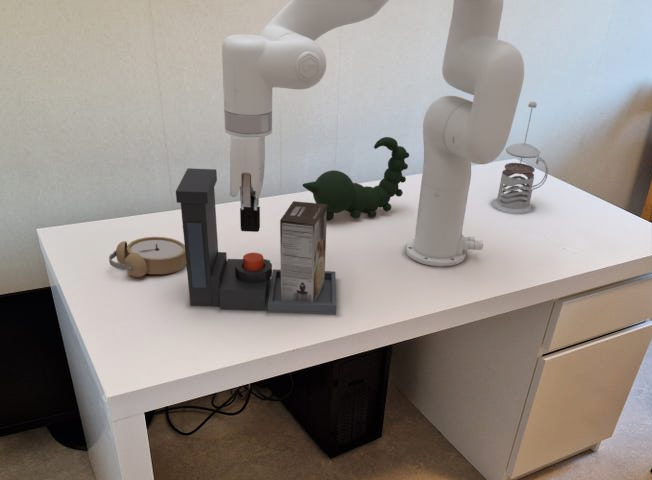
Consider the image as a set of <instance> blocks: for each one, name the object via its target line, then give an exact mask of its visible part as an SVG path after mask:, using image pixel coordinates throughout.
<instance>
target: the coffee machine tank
mask: <svg viewBox="0 0 652 480" xmlns="http://www.w3.org/2000/svg"><path fill="white" fill-rule="evenodd" d="M217 181H218V173H217V169H214V168H213V169H212V168H187V169H186V170H185V172H184V175H183V176H182V178H181V180H180V182H179V184H178V186H177V187H176V190H175V196H176V197H175V199H176V203H178V204H180V210H181V222H182V234H183V244H184V245H185V254H186V265H185V266H186V274H187V285H188V295H189V306H190V307H210V308H211V307H213V308H215V307H216V308H220V294H219V288H220V285H221V281H222V277H223V274H224V270H225V267H226V263H227V260H228V256H227V255H228V254H227V252H226V251H219V242H218V226H217V211H216V209H217V208H216V195H215V186H216V184H217Z"/></svg>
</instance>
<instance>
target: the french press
mask: <svg viewBox="0 0 652 480" xmlns="http://www.w3.org/2000/svg"><path fill="white" fill-rule="evenodd" d="M527 107H528V108H531V110H530V113H529V118H528V123H527V128H526V133H525V138H524V142H520V143H519V142H518V143H514V144H513V143H512V144H510V145H508V146H507V147H506V148H505V153H507V155H510V156H512V157H516V158H520V162H509V163H506V164H505V165H504V169H503V170H502V172H501V177H500V182H499V188H498V193H497V198H496V199H495V200H493V201H492V203H491V205H492V206H493V208H495V209H496V210H498V211H501V212H504V213H508V214H519V215H521V214H527V213H529V212H531V211H532V209H533V207H532V205H530V204H531V203H530V202H531V198H532V194H533V191H534V190H537V189H539V188H540V187H542V186H543V185H544V184H545V182H546V180H547V178H548V175H549V167H548V164H547V163H546V161H545V160H544V159H543V158H542V157H540V155H541V151H540V150H539V149H538V148H537V147H536V146H534V145H532V144H531V143H530V144H529V143H527V142H526V141H527V137H528V132H529V127H530V122H531V118H532V117H531V116H532V112H533V109H536V108H537V102H536V101H529V103H528V105H527ZM534 158H536V160H535V161H536V162H535V164H536V165H537V166H538V165H539V162H542V163H543V164H544V166H545V173H544V176H543V178H542V179H541V181H540V182H539V183H537V184H534V181H535V173H534V172H535V168H534V167H533V166H532V165H529V164H526V163H522V161H523V159H534ZM516 174H517V175H516ZM513 175H514V176H513ZM521 175H524V176H525V177H523V176H521ZM519 185H521V186H519ZM507 187H508V188H507ZM519 190H520V191H519Z"/></svg>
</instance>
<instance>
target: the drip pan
mask: <svg viewBox="0 0 652 480" xmlns="http://www.w3.org/2000/svg"><path fill="white" fill-rule="evenodd" d="M336 276H337V275H336V271H335V270H334V271H331V270H325V284H324V286H323V288H322V290H321V292H320V294H319V296H318V298H317V300H316V302H315V303H310V302H281V269H276V268H275V269H273V268H272V276H271V277H270V284H269V291H268V298H267V313H269V314H293V315H294V314H296V315H297V314H299V315H325V316H327V315H328V316H336V315H337V282H336V281H337V277H336Z"/></svg>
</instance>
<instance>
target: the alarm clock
mask: <svg viewBox="0 0 652 480" xmlns="http://www.w3.org/2000/svg"><path fill="white" fill-rule="evenodd" d="M115 258H116V260H117V262H116V261H114V260H113V259H115ZM108 262H109V265H110V266H112V267H113V268H115V269H119V270H126V271H127V272H128V274H129V275H130V276H132V277H134V278H142V277H144V276H145V275H146V274H148V275H168V274H173V273H176V272H179V271H181V270H183V269H184V268H185V267H186V266H187V265H186V254H185V244H184V242H181V241H180V240H177V239H174V238H170V237H164V236H147V237H142V238H141V237H140V238H137V239H135V240H132V241H130V242H129V243H128V242H127V240H125V241H121V242H119V243H118V245H117V246H116V249H115V250H114V251H113V252H112V253H110V254H109V256H108Z"/></svg>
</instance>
